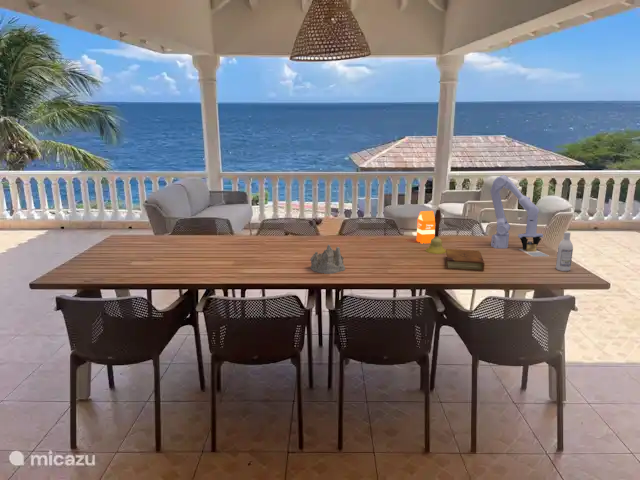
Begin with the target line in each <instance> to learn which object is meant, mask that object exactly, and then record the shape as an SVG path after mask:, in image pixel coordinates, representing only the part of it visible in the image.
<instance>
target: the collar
mask: <svg viewBox="0 0 640 480" xmlns="http://www.w3.org/2000/svg"><path fill="white" fill-rule="evenodd" d="M537 247H538V245H536V244H534V243H533V242H532V245H528V242H527V245H526V250H525V251H527V252H531V251H536V250H537ZM521 249H523V246H522V247H521ZM523 250H524V249H523Z"/></svg>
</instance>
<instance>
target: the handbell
mask: <svg viewBox="0 0 640 480" xmlns="http://www.w3.org/2000/svg"><path fill="white" fill-rule="evenodd" d="M435 210H436V211H435V214H434V217H435V236H434V238H433V239H431V243H429V244H430V245H429V246H428V247H427V248H425V252H426V253H429V254H433V255H442V254H443V255H444V254H446V248H444V247H443V240H442V239H441V238H440V236H439V235H440V234H439V233H440V224H441V220H442V212H441V210H440V209H435Z"/></svg>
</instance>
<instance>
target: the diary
mask: <svg viewBox="0 0 640 480" xmlns="http://www.w3.org/2000/svg"><path fill="white" fill-rule="evenodd" d="M445 250H446V253H445V255H446V256H445V265H446V270H453V271H454V270H455V271H471V272H484V271H485V261H484V259H483V256H482V253H481V251H480V250H476V249H475V250H471V249H453V248H445Z"/></svg>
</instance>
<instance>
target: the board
mask: <svg viewBox="0 0 640 480" xmlns="http://www.w3.org/2000/svg"><path fill="white" fill-rule="evenodd" d="M518 250H519V251H520V252H521V251H522V252H523V253H525V254H527V255H529V256H530V257H549V254H547V253H544V252H542V251H540V250H538V249H536V251H531V252H527V251H525V250H523V249H522V248H518Z"/></svg>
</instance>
